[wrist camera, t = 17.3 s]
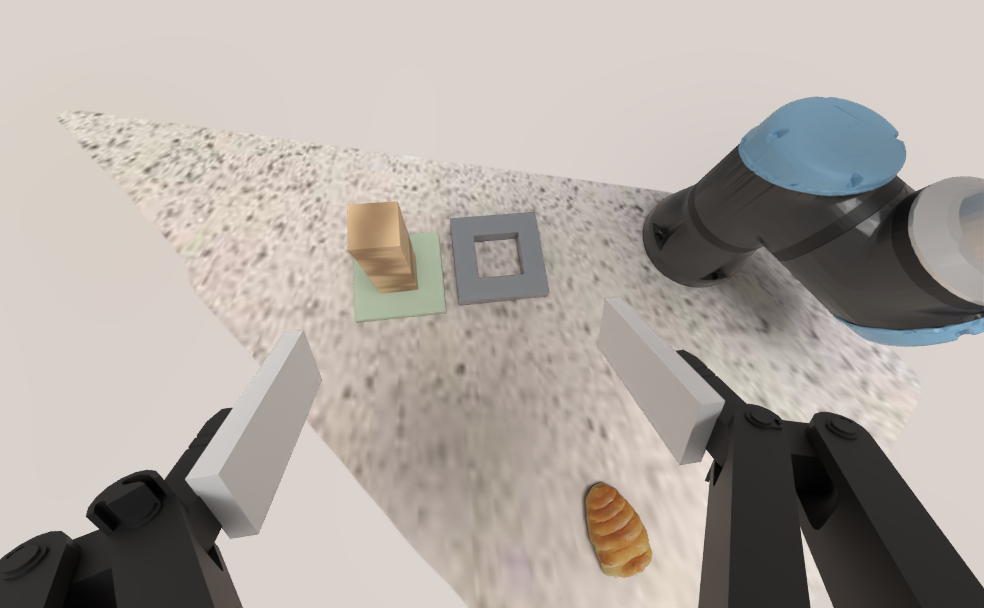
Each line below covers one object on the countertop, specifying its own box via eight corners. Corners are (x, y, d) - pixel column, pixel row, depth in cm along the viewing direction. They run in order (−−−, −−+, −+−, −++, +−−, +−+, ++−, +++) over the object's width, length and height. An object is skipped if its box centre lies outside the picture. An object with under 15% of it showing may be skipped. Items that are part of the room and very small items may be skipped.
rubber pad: (438, 234, 51) (438, 231, 50) (446, 313, 48) (445, 311, 47) (354, 241, 50) (352, 238, 49) (357, 322, 47) (354, 320, 46)
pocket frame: (532, 218, 53) (534, 212, 51) (546, 296, 50) (549, 292, 48) (450, 225, 52) (450, 218, 50) (459, 305, 49) (459, 301, 47)
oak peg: (415, 256, 49) (397, 201, 36) (418, 290, 48) (400, 245, 34) (379, 259, 49) (347, 204, 35) (381, 293, 47) (348, 250, 34)
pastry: (568, 495, 43) (578, 503, 40) (615, 471, 45) (629, 477, 41) (602, 576, 41) (616, 592, 38) (650, 549, 42) (668, 562, 39)
